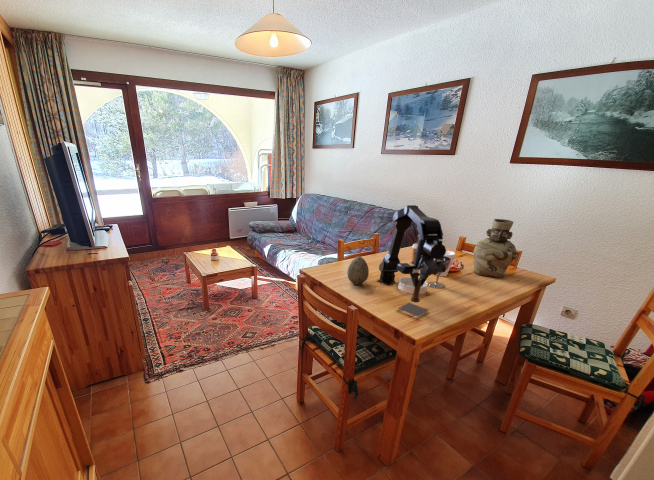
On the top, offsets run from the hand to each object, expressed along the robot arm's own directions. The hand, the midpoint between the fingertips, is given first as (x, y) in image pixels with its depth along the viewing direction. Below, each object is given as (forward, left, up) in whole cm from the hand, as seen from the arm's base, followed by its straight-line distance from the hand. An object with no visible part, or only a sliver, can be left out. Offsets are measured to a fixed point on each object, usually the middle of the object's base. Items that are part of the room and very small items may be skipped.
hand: (417, 286), depth 130 cm
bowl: (-12, +20, -12) cm, 26 cm away
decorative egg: (-35, +6, -12) cm, 37 cm away
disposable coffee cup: (-32, +62, -12) cm, 70 cm away
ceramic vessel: (+2, +79, -12) cm, 80 cm away
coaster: (0, 0, -12) cm, 12 cm away
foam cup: (-14, +55, -12) cm, 58 cm away
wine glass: (-8, +37, -12) cm, 39 cm away
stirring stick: (0, 0, -6) cm, 6 cm away
